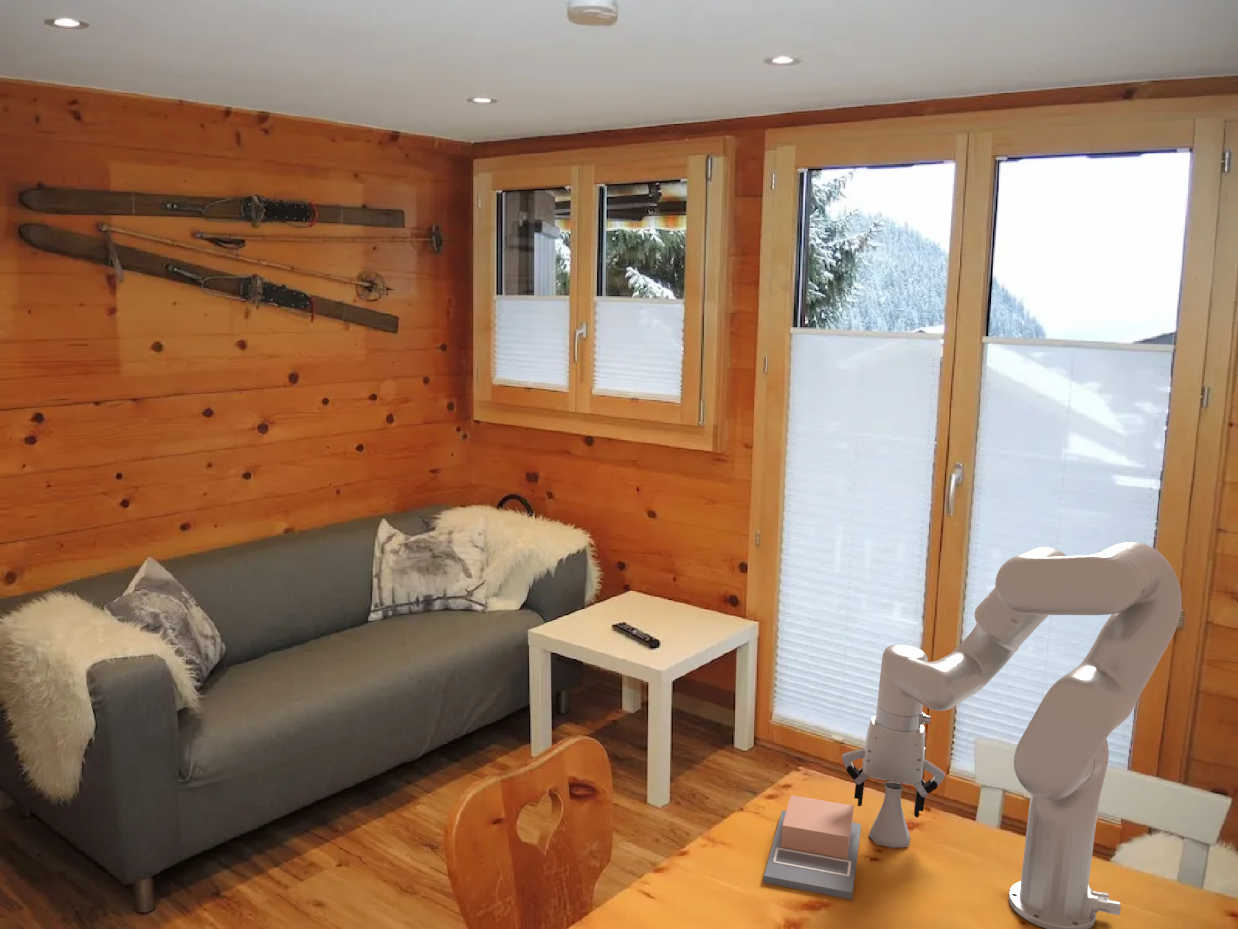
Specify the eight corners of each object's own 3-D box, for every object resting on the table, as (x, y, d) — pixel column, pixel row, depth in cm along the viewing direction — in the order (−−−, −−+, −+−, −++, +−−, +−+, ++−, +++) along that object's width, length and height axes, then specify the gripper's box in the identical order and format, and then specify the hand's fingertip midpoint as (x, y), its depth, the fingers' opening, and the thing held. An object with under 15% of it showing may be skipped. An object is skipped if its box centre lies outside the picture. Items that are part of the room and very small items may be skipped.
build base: (860, 830, 180) (862, 803, 180) (852, 899, 160) (854, 869, 159) (781, 816, 184) (783, 789, 183) (763, 882, 164) (765, 853, 163)
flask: (865, 826, 182) (869, 774, 180) (906, 829, 181) (911, 777, 180) (871, 848, 175) (875, 794, 173) (914, 851, 174) (919, 797, 173)
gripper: (950, 717, 176) (939, 807, 179) (848, 700, 180) (839, 788, 184) (951, 735, 169) (939, 829, 172) (845, 717, 173) (836, 808, 177)
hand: (887, 808), depth 178 cm, fingers open, 9 cm apart
